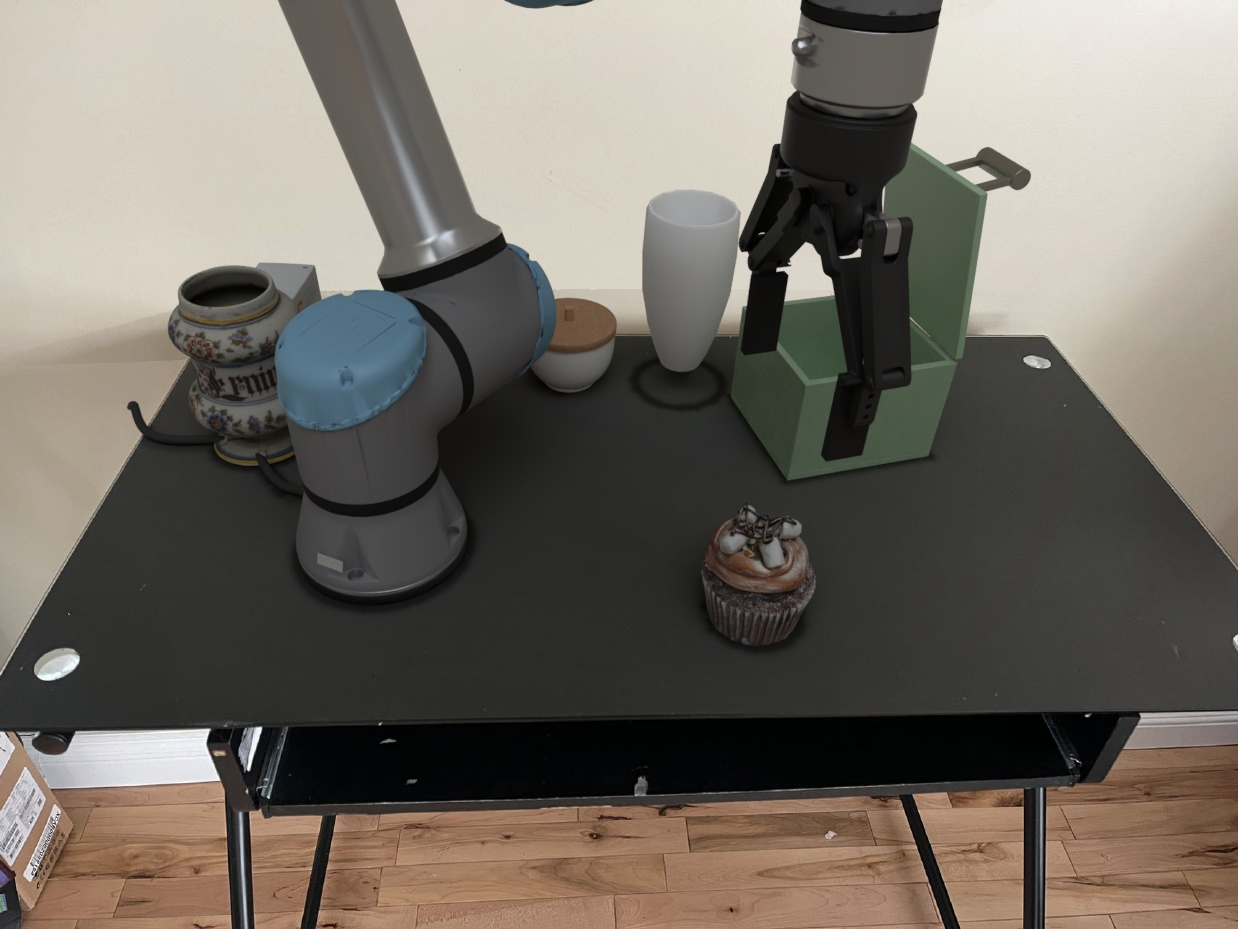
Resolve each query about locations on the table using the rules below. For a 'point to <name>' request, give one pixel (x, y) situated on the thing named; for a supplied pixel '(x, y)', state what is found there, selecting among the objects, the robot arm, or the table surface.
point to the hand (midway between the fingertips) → (796, 399)
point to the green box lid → (946, 235)
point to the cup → (687, 272)
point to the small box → (295, 282)
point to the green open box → (804, 389)
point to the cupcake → (757, 577)
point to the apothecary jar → (235, 359)
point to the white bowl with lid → (577, 346)
